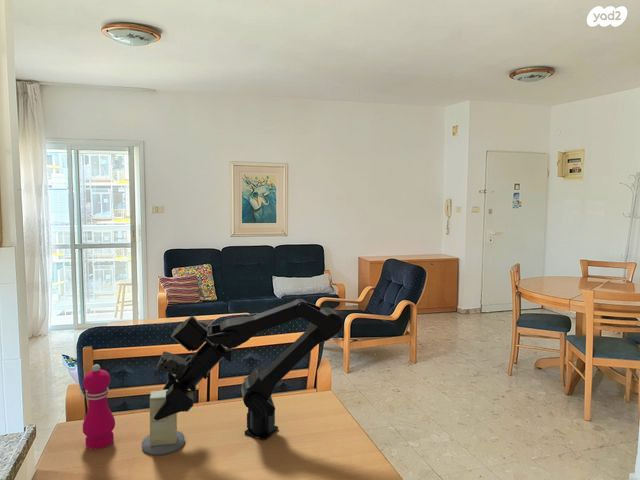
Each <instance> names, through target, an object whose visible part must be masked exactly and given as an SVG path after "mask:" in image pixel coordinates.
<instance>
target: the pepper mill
mask: <svg viewBox="0 0 640 480" xmlns="http://www.w3.org/2000/svg"><path fill="white" fill-rule="evenodd" d="M110 383H111V376H110V373H109V372H108V371H107V370H104V369H101V366H100V364H97V363H96V364H94V365H92V367H91V370H90V371H89V372H87V373H86V374H85V375H84V377H83V380H82V385H83V386H82V387H83V388H84V389H85V390H86V391H85V398H86V400H88V406H87V407H88V408H87V412H86V415H85V418H84V420H83V423H82V433H83V434H84V436H86V437H85V447H86V448H87V449H89V450H100V449H104V448H107V447H109V446H110V445H111V444H112V443H114V441H115V437H114V431H113V430H114V429H115V427H116V420H115V416H114V414H113V413H112V411H111V409H110V407H109V403H108V396H109V393H110V392H109V386H110Z"/></svg>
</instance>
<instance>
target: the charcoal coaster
mask: <svg viewBox="0 0 640 480" xmlns="http://www.w3.org/2000/svg"><path fill="white" fill-rule="evenodd" d="M185 441H186V439H185V434H184V433H183V432H181V431H179V430H177V441H176V443H175V444H165V445H155V446H150V434H149V435H147V436H145V438H144V439H142V442H141V450H142V451H143V452H144V453H145V454H148V455H151V456H164V455H169V454H172V453H174V452H176V451H178V450H180V449H181V448H182V447H183V445H184V444H185Z"/></svg>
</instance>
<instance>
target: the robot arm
mask: <svg viewBox="0 0 640 480" xmlns="http://www.w3.org/2000/svg"><path fill="white" fill-rule="evenodd" d="M300 318H301V319H303V320H306V321H308V322H309V324H308V326H307V327H306V329H305V331H304V332H303V333H302V334H301V335H300V336H299V337H298V338H297V339H296V340H295V341H294V342H293V343H292V344H291V345H290V346H288V347H287V348H286V349H285V350H284V351H283V352H282V353H281V354H280V355H279V356H278V357H277V358H276V359H275V360H274V361H272V363H271V364H269V366H268V367H267V368H265V369H263V370H260V371H259V370H258V369H257V368H254V369H253V370H252V372H250V373H249V375H247V376H246V377H243V380H244V381H243V382H242V384H241V389H240V390H241V391H240V392H241V395H242V400H243V404H244V406H245V407H246V408H247V413H246V428H247V429H246V430H244V434H245V435H247V436H250V437H254V438H257V439H260V440H263V441H266V440H267V439H268V438H269V437H271V436H272V435H273V434H274V433H275V432H276V431H278V429H279V426H278V425H276V407H275V403H274V401H273V398H272V394H273V393H274V391H275V389H276V386H277V385H278V384H279V383H280V381H281V380H282V379H283V378H285V376H286V375H288V374H289V373H290V372H291V371H292V370H293V369H294V368H295V367H296V366H297V365H298V364H299V363H300V362H301V361H302V360H303V359H305V357H307V355H308V354H309V353H310V352H311V351H312V350H314V349H315V348H316V347H317V346H318V345H320V344H323V343H324V342H327V341H330V340H331V339H332V338H334V337H335V336H337V335H338V334H340V333H341V331H342V330H343V319H342V317H341V316H340V315H339V314H338V313H337V312H336V311H334V309H332V308H331V307H320V306H319V305H317V304H314V303H310V302H307V301H305V299H303V298H296V299H294V300H293V301H290V302H288V303H285V304H282V305H279V306H276V307H274V308H270V309H267V310H266V311H262V312H260V313H258V314H254V315H249V316H238V317H233V318H231V317H230V318H226V319H224V320H223V321H221V323H217V324H212V325H208V326H204V325H203V324H202V323H201V322H199V321H198V319H197V318H196V316H194V315H190V317H188V318H187V319H185V320H184V321H182V322H180V323H179V324H178V325H177V326H176V328H175V329H174V330H173V332H172V334H171V335H170V337H171V338H173V339H174V341H176V342H177V343H178V344H179V345H180V346H182V347H183V348H184V349H186V351H188V352H191V351H192V352H194V354H189V355H187V356H186V357H185V358H184V357H181V356H180V355H177V354H174V353H171V352H168V351H163V352H162V354H161V356H160V358H159V361H158V363H157V370H158V371H160V372H166V373H167V375H168V377H167V378H168V379H167V381H166V383H165V384H164V386H163V388H162V390H168V391H166V401H165V402H164V403H163V405H162V406H161V407H160V409H159V410H158V412H157V413H156V415H155V416H154V419H155V420H156V421H158V420H160V419H163V418H165V417H168V416H170V415H173V414H176V413H177V414H179V413H181V412H183V413H184V412H189V411H190V410H191V409H192V408H193V407H194V394H193V393H194V392H195V391H196V390H197V385H198V384H199V383H200V382H201V381H202V380H204V379H205V380H207V378H208V377H209V373H210V372H211V371H212V370H213V369H214V368H215V366H217V365H218V363H220V362H221V360H222V359H223V358H224V359H225V360H226V361H227V362H229V363H231V362H232V361H233V360H232V359H233V358H232V353H233V349H235V348H237V347H239V346H241V345H243V344H244V343H246V342H248V341H249V340H250V339H252V337H254V336H255V335H257V334H259V333H261V332H264V331H265V332H266V331H268V330H270V329H273V328H275V327H278V326H281V325H285V324H286V323H289V322H292V321H294V320H297V319H300Z"/></svg>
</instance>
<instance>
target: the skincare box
mask: <svg viewBox="0 0 640 480" xmlns="http://www.w3.org/2000/svg"><path fill="white" fill-rule="evenodd" d="M166 391H168V390H163V389H158V390H151V391H150V395H149V435H150V446H155V445H165V444H175V443H176V441H177V431H178V413H176V414H173V415H170V416H168V417H165V418H163V419H160V420H158V421H156V420H155V419H154V416H155V415H156V413H157V412H158V410H159V409H160V407H161V406H162V405H163V403H164V402H165V401H166Z"/></svg>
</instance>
